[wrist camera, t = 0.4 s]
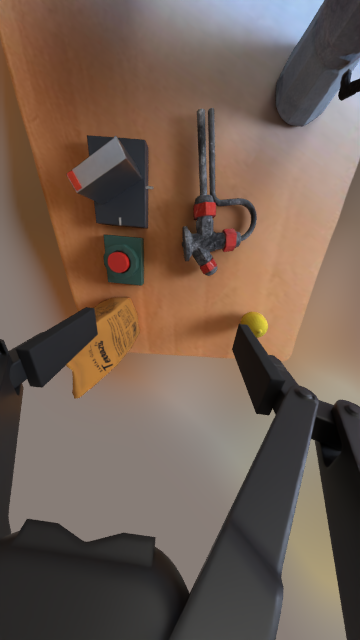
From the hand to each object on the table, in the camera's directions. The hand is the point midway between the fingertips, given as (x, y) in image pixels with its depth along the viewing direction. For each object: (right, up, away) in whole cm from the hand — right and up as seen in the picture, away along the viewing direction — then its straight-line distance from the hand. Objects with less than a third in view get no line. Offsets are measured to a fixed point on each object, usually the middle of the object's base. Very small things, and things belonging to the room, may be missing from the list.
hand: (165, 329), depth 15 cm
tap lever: (-10, +26, +15) cm, 32 cm away
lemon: (+19, +2, +27) cm, 33 cm away
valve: (+9, +24, +18) cm, 31 cm away
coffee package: (-14, +1, +30) cm, 33 cm away
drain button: (-11, +13, +20) cm, 27 cm away
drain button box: (-11, +15, +23) cm, 30 cm away
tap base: (-10, +27, +18) cm, 34 cm away
